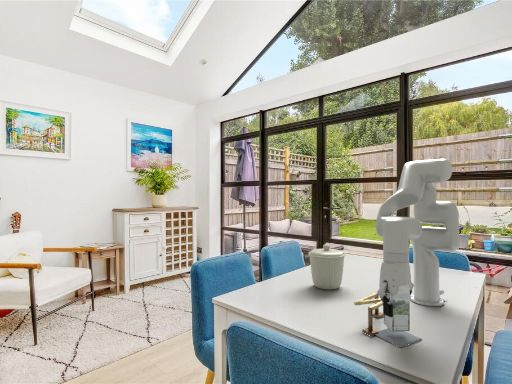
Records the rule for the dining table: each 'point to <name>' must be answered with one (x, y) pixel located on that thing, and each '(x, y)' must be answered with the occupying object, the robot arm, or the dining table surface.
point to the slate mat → (397, 337)
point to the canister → (327, 267)
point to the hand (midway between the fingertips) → (396, 312)
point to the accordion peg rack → (371, 311)
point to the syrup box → (400, 310)
